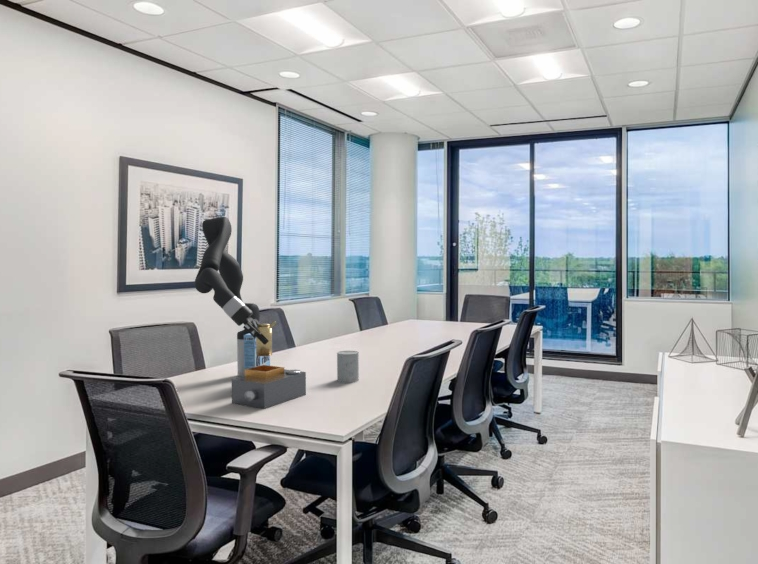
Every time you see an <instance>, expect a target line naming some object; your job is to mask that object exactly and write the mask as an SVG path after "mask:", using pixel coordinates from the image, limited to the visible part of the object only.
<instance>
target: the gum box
mask: <svg viewBox="0 0 758 564" xmlns="http://www.w3.org/2000/svg"><path fill="white" fill-rule="evenodd" d="M261 365H270V366H271V355H270V356H257V355H256V337H255V338H254V337H253V336H252V335H251V334H250V333H248V334H246V335H244V376H245V369H248V368H252V367H256V366H261Z"/></svg>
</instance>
